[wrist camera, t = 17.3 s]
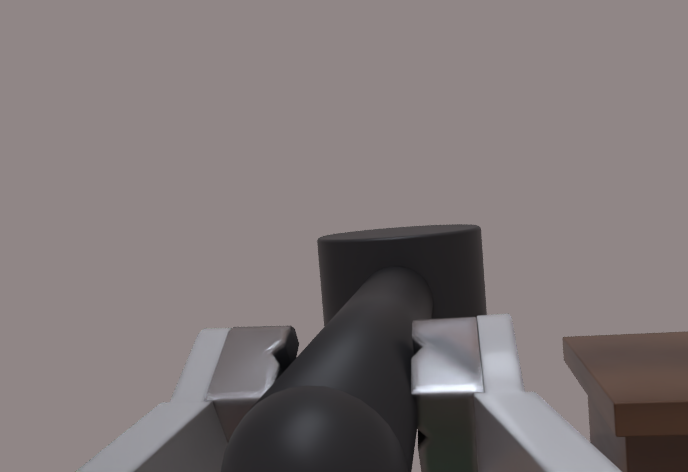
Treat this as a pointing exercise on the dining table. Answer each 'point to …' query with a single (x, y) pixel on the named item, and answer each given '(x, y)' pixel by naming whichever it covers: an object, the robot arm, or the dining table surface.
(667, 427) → the stand
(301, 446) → the black mallet
